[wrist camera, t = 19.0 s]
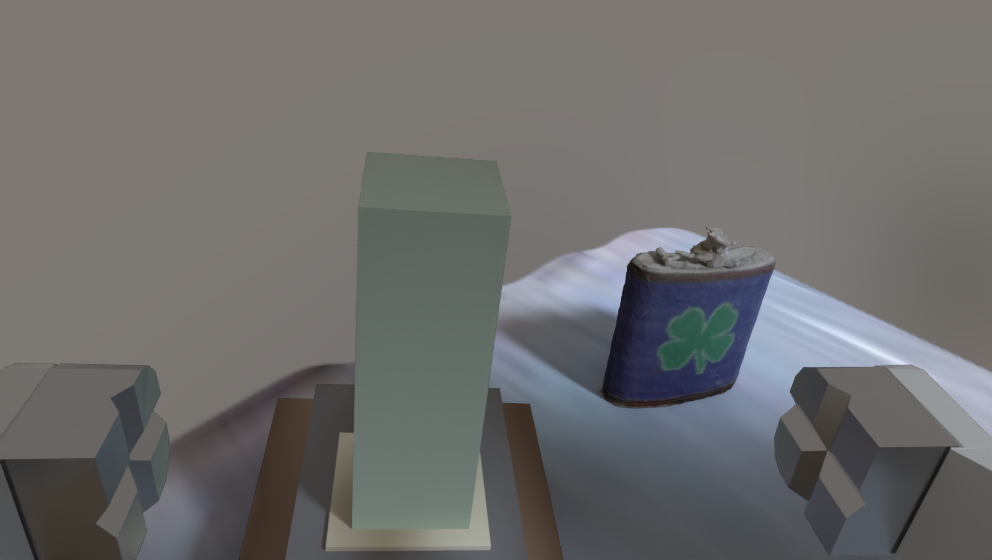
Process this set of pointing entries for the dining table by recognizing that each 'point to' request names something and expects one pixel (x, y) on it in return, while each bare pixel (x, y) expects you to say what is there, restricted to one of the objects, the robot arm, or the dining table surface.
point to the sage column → (424, 335)
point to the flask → (685, 322)
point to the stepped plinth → (393, 552)
